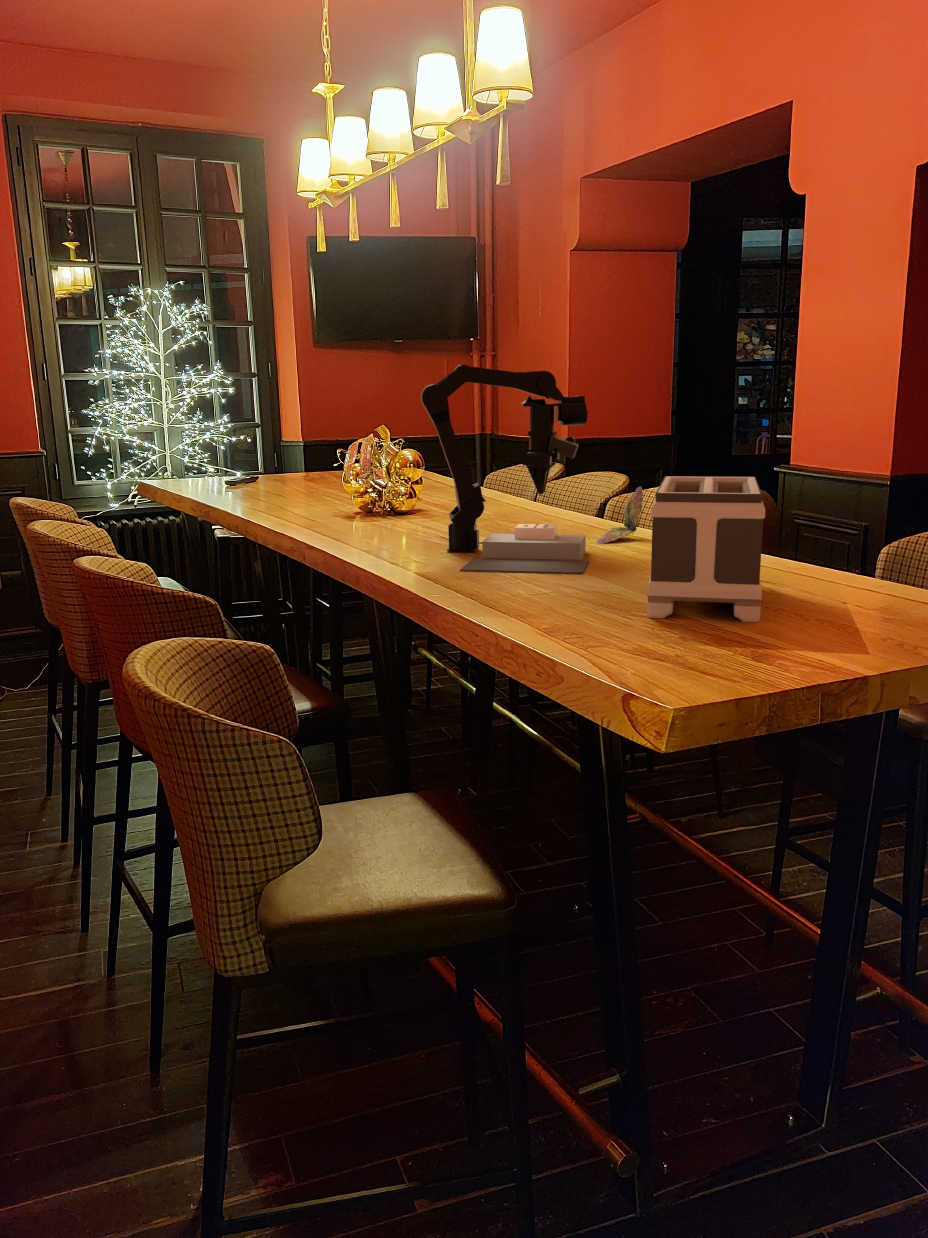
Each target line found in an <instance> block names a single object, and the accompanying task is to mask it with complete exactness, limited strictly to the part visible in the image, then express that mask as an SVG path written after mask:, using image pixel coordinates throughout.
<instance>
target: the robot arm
mask: <svg viewBox="0 0 928 1238" xmlns="http://www.w3.org/2000/svg"><path fill="white" fill-rule="evenodd" d="M465 383H468V384H477V385H486V386H493V387H502V388H509V389H510V388H511V389H515V390H518V391H520V392H523V393H527V394H529V395H528V396H527V397H526V398H525V400H523V401H522V402H520V406H521V407H524V408H526V407H527V408H528V407H529V412H528V413H529V415H528V416H529V417H528V418H529V420H528V421H529V423H528V424H529V430H528V431H527V436H529V448H528V449H527V452H526V453H525V454H524V455H523V456H522V466H524V467H525V466H526V468H527V470H528V472H529V475H530V478H531V479H532V481H533V484H534V486H535V490H536V491H537V493H538V495H544V493H546V489H547V484H548V479H549V476H550V471H551V469H552V468H554V466H555V465H556V464H557V461H559V460H560V454H561V455H563V456H565V457H566V458H569V459H574V458H575V457H576V454H577V452H578V448H579V446H580V445H579V443H576V439H575V437H573V436H570V435H569V436H566V438H563V437H562V438H561V437H558V436H557V431H556V430H555V421H556V422H559V424H560V426H563V427H564V426H586V424H587V420H588V410H587V403H586V400H585V399H586V397H585V395H574V396H564V395H563V393H562V392H561V390H560V389H559V388H558V387H557V380H556V376H554V374H553V373H552V372H550V371H547V370H534V371H533V370H531V371H530V370H529V371H518V372H517V371H508V370H502V369H501V370H500V369H493V368H485V367H478V366H470V365H467V364H459V365H457V366H455V368H454V369H453V370H452V371H451V372H450V373H448V374H447V375H446V376H445V377H443V378H442V379H441V380H440V381H438V382H437V383H435V384H428V385H426V386H425V387H423V389H422V390H421V393H420V395H419V396H420V402H421V404H422V406H423V408H424V410H425V412H426V413H427V415H428V417H429V418H430V420H431V422H432V423H433V426H434V427H435V430H436V434H437V435H438V438H439V443H440V445H441V448H442V450H443V454H444V457H445V460H446V462H447V464H448V468H449V470H450V474H451V477H452V480H453V483H454V484H453V485H454V492H455V498H456V499H455V500H456V506H455V507H454V508H453V509H452V510H451V511H450V512H449V513H448V517H449V519H450V522H451V523H449V524H448V525H447V526H448V528H447V529H448V548H447V549H446V552H448V553H449V552H451V553H457V552H458V553H475V551H477V550H478V549H479V548H480V530H479V529H478V527H477V526H478V525H477V523H476V521H477V520H478V518H480V517H481V516H482V514H483V513H484V510H485V505H484V504H485V503H486V501H487V500H486V499H485V498H484V496H483V493H482V487H481V485H480V483H479V482H476V483H473V482H472V479H471V478H470V475H469V472H468V469H467V466H466V464H465V461H464V458H463V455H462V452H461V448H460V446H459V442H458V440H457V437H456V434H455V431H454V429H453V424H452V422H451V414H450V406H449V400H448V398H449V397H450V396H451V395H453V394H454V393H455V392H456V391H458V389H460V388H461V387H462V386H463V385H464V384H465ZM530 395H532V396H535V397H544V398H536V399H534V398H532V396H530ZM546 399H547V400H549V401H556V402H557V403H546ZM553 460H555V461H553Z"/></svg>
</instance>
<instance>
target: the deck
mask: <svg viewBox="0 0 928 1238" xmlns="http://www.w3.org/2000/svg"><path fill="white" fill-rule="evenodd" d="M586 535H587V534H557V536H556V537H555V539H515V533H491V534H490V535H489V536H487V538H485V539H483V540H482V543H481V544H482V558H516V559H562V560H583V557H584V555H585V554H586V541H587V540H586V539H587V537H586Z"/></svg>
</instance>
